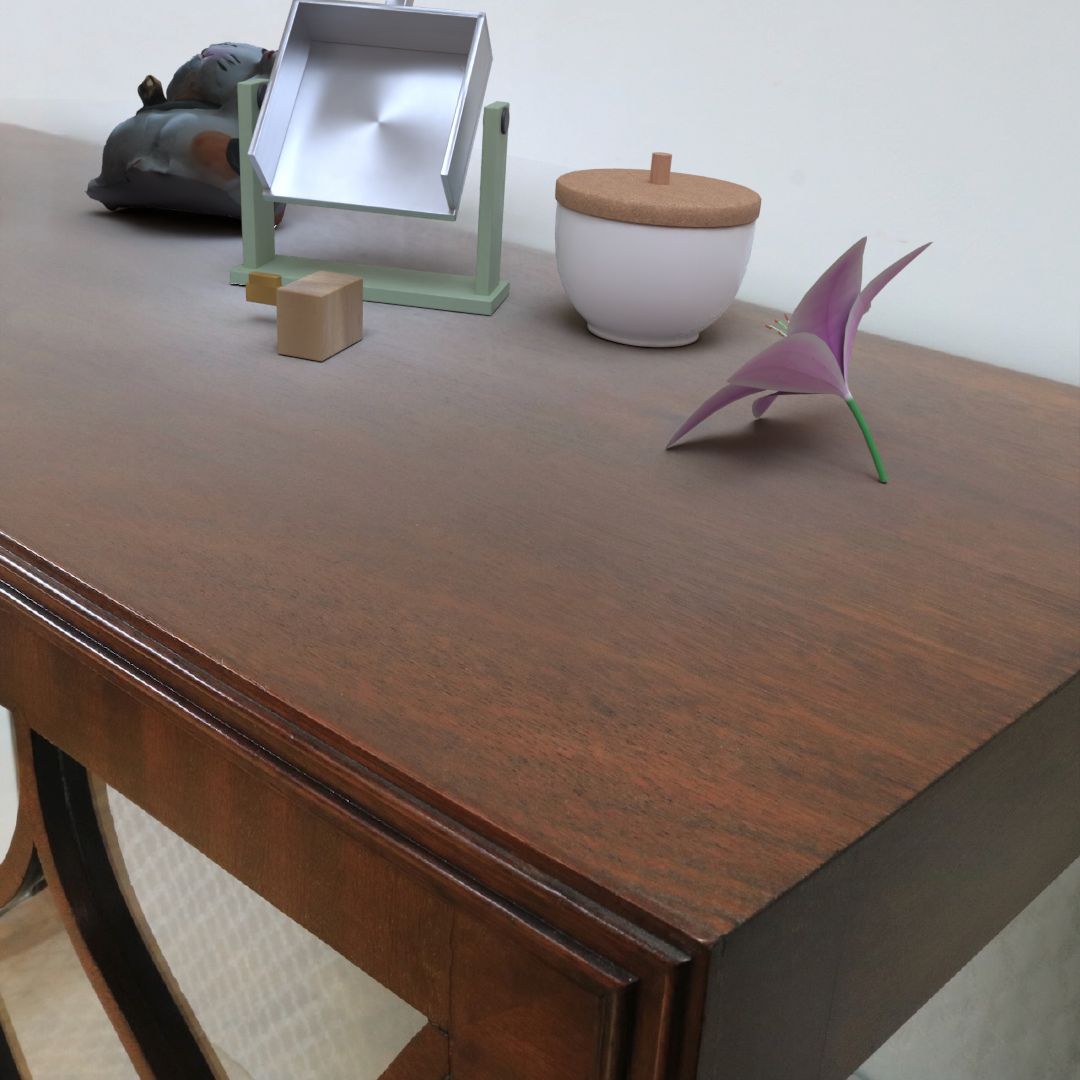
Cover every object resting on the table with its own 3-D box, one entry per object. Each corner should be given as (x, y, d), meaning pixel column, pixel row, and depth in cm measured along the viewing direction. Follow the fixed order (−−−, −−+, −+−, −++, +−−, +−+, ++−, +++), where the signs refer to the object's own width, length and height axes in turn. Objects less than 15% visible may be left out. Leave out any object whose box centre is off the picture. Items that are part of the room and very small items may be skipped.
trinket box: (684, 302, 74) (705, 139, 70) (778, 356, 65) (807, 173, 61) (517, 307, 70) (528, 135, 66) (591, 365, 61) (610, 170, 57)
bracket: (262, 265, 74) (258, 75, 70) (508, 294, 72) (520, 101, 68) (229, 284, 70) (222, 83, 65) (490, 315, 68) (502, 110, 63)
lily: (883, 433, 58) (815, 240, 56) (1070, 421, 47) (992, 180, 45) (673, 539, 55) (593, 336, 53) (822, 552, 44) (727, 297, 42)
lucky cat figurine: (67, 201, 86) (123, 13, 87) (229, 264, 93) (280, 88, 93) (120, 174, 74) (185, -46, 74) (303, 249, 80) (361, 46, 81)
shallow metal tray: (343, -72, 74) (328, -123, 70) (520, -58, 72) (514, -109, 69) (264, 201, 68) (244, 161, 64) (455, 222, 66) (445, 182, 63)
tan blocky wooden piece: (366, 274, 61) (321, 296, 57) (366, 337, 63) (321, 362, 59) (253, 257, 63) (200, 276, 59) (255, 318, 64) (204, 341, 60)
